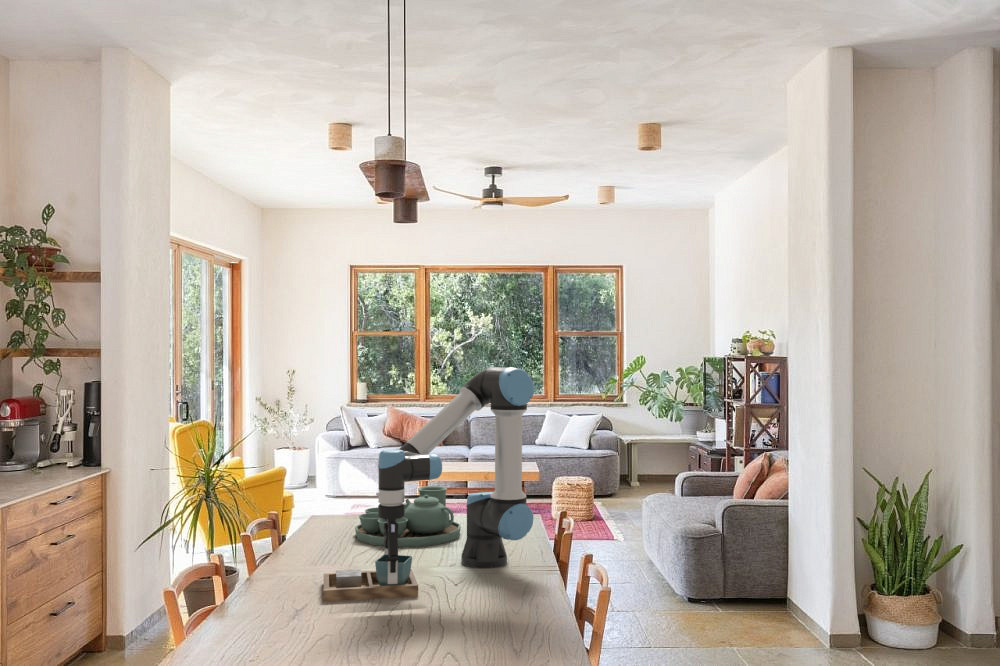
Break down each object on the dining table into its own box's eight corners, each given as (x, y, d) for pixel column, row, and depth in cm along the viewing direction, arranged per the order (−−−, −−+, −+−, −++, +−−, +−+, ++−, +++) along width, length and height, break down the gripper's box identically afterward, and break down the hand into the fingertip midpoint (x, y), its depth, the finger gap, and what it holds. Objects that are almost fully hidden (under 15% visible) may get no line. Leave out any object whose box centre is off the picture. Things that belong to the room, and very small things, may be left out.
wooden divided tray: (411, 582, 250) (411, 568, 250) (418, 599, 232) (418, 585, 232) (323, 586, 245) (323, 573, 245) (323, 605, 227) (323, 590, 227)
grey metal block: (360, 586, 241) (360, 569, 241) (361, 593, 235) (361, 575, 235) (335, 588, 240) (336, 570, 240) (336, 594, 233) (336, 577, 233)
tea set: (371, 524, 336) (371, 483, 336) (468, 527, 331) (468, 485, 331) (340, 546, 296) (340, 500, 297) (450, 550, 291) (450, 503, 292)
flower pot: (412, 586, 242) (412, 555, 242) (404, 594, 234) (404, 562, 234) (383, 584, 244) (383, 553, 244) (374, 593, 235) (374, 561, 235)
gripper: (375, 496, 252) (375, 566, 251) (381, 512, 227) (380, 590, 227) (400, 495, 253) (399, 565, 253) (408, 511, 229) (407, 588, 228)
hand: (390, 577), depth 240 cm, fingers open, 13 cm apart
